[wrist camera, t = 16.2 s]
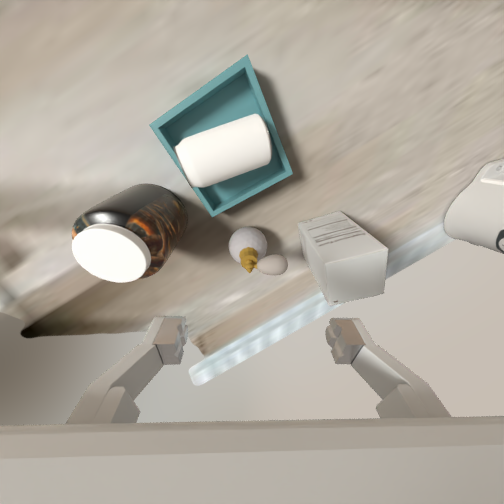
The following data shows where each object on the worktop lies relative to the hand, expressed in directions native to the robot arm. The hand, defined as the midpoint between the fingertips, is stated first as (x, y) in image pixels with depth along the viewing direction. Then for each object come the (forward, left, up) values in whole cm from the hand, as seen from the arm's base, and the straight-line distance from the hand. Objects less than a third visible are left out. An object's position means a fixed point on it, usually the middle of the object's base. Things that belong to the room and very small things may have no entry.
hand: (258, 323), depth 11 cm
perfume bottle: (+3, +9, -29) cm, 30 cm away
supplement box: (-10, +16, -29) cm, 34 cm away
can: (-6, -6, -24) cm, 26 cm away
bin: (-1, -7, -29) cm, 30 cm away
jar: (+17, -4, -29) cm, 34 cm away
